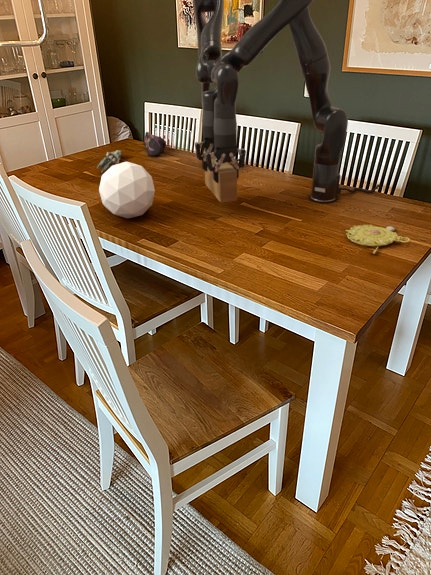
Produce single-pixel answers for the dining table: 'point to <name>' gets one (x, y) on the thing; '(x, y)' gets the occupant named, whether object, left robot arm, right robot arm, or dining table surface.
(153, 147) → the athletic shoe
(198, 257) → the dining table surface
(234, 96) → the right robot arm
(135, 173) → the sphere
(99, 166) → the figurine
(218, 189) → the box
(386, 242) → the decorative object
